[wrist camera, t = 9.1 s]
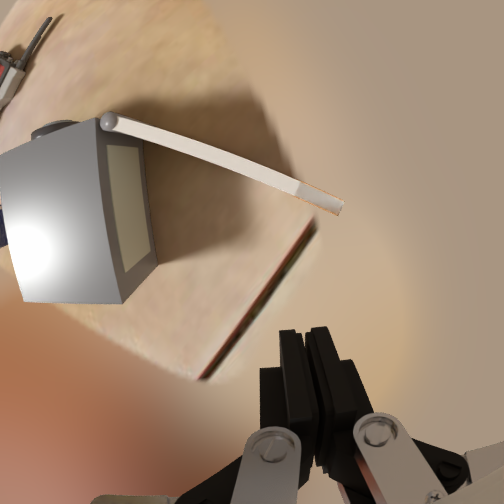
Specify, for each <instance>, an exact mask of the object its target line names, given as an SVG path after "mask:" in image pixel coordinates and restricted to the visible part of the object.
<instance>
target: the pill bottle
mask: <svg viewBox="0 0 504 504" xmlns="http://www.w3.org/2000/svg"><path fill="white" fill-rule="evenodd" d="M6 245H8V239H7V234H6V229H5V223H4V217H3V211H2V205H0V248H2V247H4V246H6Z"/></svg>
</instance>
